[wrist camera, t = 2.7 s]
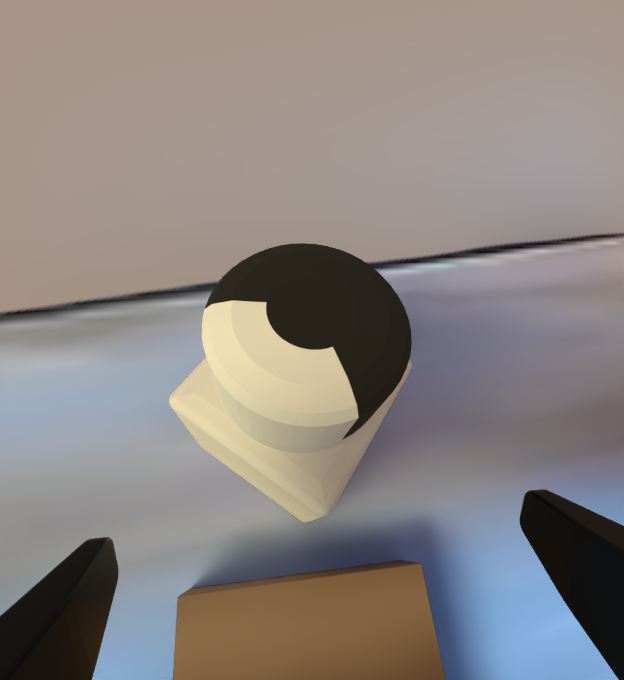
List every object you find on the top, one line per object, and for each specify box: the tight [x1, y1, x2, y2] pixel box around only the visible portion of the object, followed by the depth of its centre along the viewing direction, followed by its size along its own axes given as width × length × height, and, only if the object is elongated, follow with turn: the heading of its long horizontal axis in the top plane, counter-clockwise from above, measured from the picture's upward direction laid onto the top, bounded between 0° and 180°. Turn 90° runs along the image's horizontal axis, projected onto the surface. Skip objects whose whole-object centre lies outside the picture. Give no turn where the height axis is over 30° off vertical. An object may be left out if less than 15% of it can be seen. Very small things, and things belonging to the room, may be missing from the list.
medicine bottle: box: [169, 244, 412, 523], centre depth 15 cm, size 7×7×12 cm
